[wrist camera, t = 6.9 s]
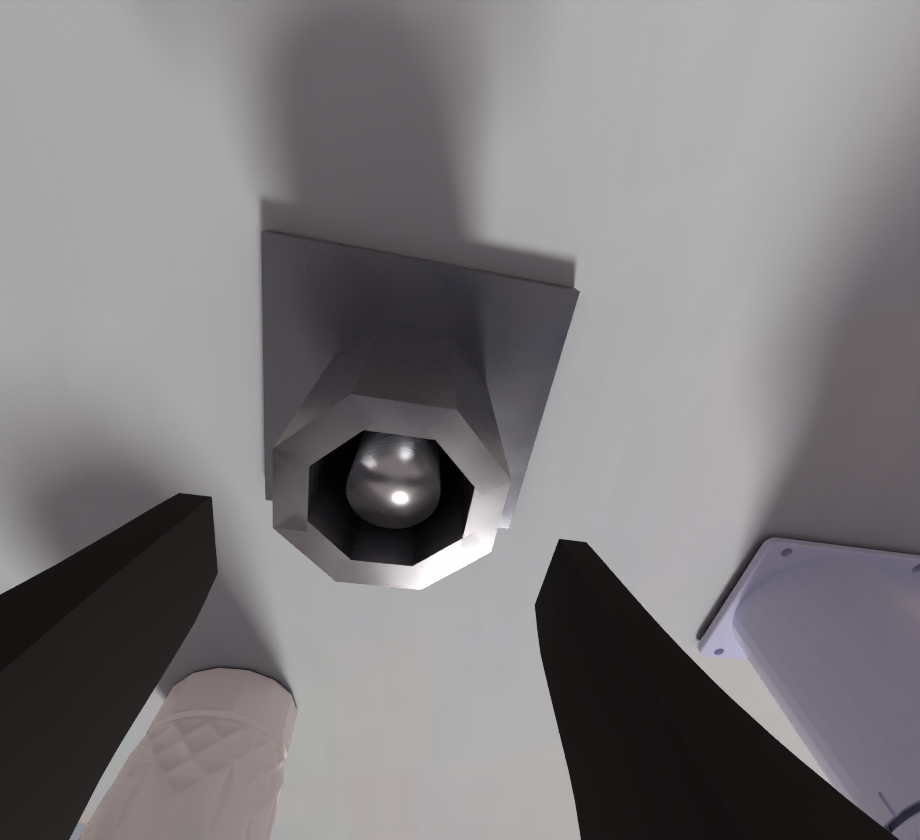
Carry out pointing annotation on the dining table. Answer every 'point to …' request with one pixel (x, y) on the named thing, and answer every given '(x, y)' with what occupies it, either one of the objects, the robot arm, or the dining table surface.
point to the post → (419, 305)
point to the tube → (402, 413)
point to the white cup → (204, 764)
